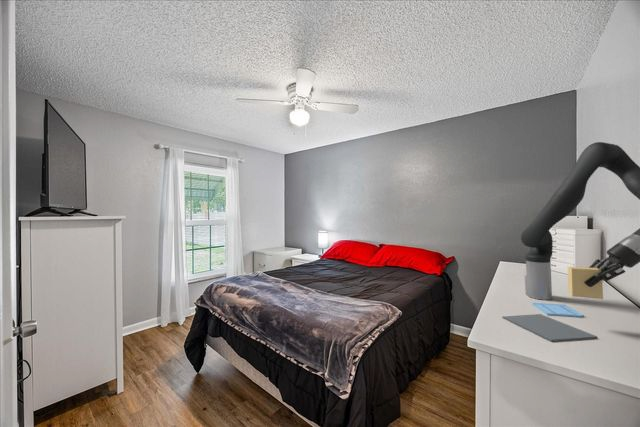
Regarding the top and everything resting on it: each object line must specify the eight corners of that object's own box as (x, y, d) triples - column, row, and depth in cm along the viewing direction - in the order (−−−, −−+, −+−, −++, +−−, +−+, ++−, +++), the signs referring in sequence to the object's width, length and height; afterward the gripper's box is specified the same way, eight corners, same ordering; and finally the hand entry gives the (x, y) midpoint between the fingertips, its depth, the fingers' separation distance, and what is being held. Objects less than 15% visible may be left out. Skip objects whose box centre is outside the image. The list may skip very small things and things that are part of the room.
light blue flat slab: (585, 319, 101) (585, 315, 101) (547, 316, 105) (547, 313, 105) (565, 307, 114) (564, 304, 114) (531, 305, 118) (531, 302, 118)
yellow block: (572, 296, 95) (571, 268, 95) (568, 293, 98) (567, 266, 98) (602, 298, 91) (602, 269, 91) (597, 296, 95) (596, 267, 95)
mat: (502, 318, 103) (502, 316, 103) (540, 315, 105) (540, 314, 105) (551, 341, 84) (550, 339, 84) (597, 338, 85) (597, 336, 85)
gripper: (608, 240, 97) (566, 271, 102) (633, 244, 84) (583, 280, 89) (629, 255, 95) (585, 286, 100) (657, 262, 82) (605, 297, 87)
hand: (584, 283), depth 95 cm, fingers closed on yellow block, 3 cm apart
